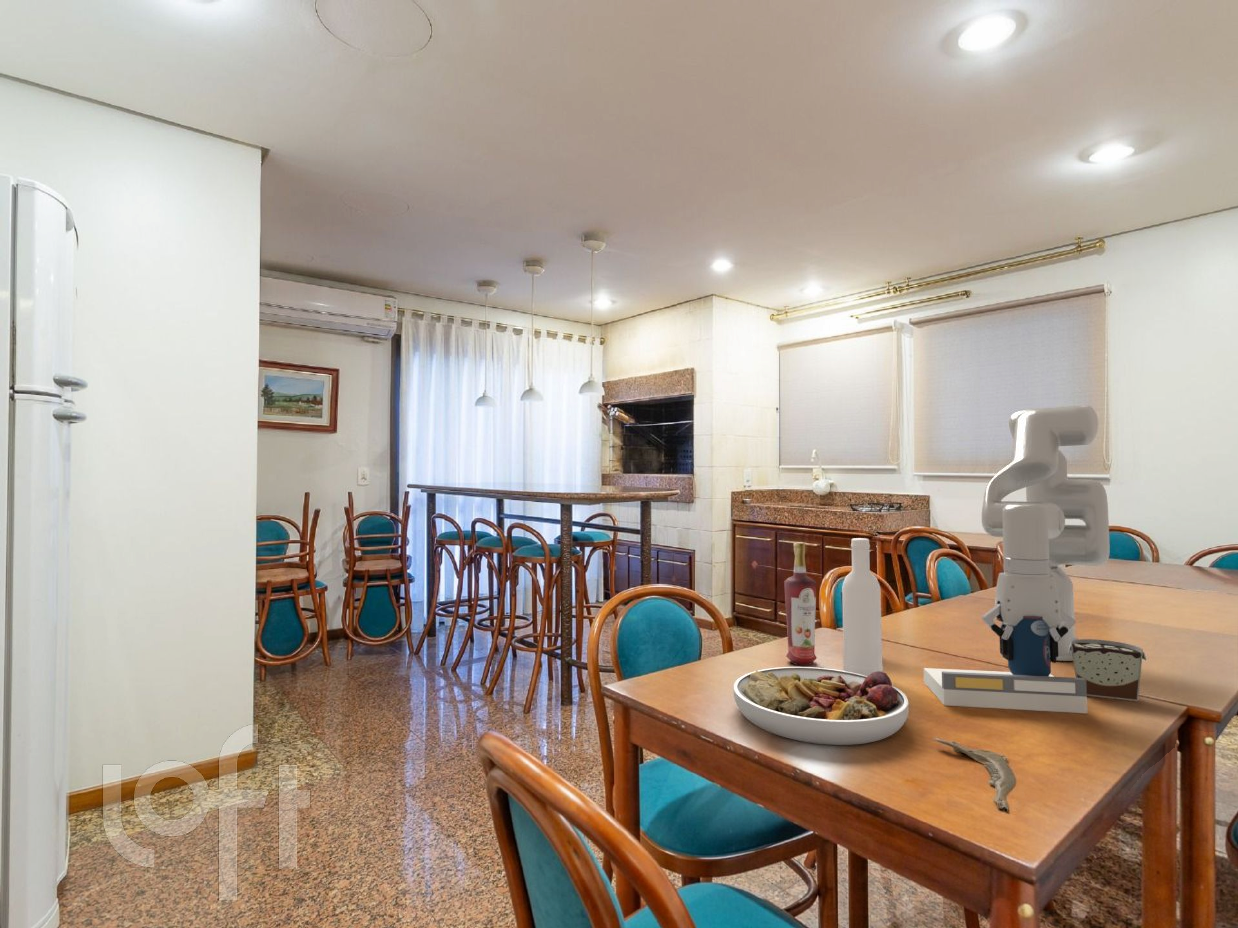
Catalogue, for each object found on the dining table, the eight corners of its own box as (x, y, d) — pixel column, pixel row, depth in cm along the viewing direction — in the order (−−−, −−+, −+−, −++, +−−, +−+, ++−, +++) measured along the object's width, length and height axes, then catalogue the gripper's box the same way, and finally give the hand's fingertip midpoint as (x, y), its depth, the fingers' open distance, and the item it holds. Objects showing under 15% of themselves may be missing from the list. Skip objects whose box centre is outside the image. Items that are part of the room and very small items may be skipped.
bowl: (772, 760, 97) (771, 708, 97) (713, 695, 127) (712, 656, 127) (948, 746, 102) (947, 696, 102) (851, 687, 131) (851, 649, 132)
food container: (1137, 692, 126) (1135, 641, 126) (1147, 702, 120) (1146, 649, 120) (1062, 684, 131) (1061, 636, 131) (1069, 693, 125) (1068, 642, 126)
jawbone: (990, 753, 100) (991, 740, 100) (1074, 825, 80) (1075, 809, 80) (932, 747, 101) (933, 734, 101) (1001, 817, 81) (1002, 801, 81)
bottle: (853, 670, 142) (851, 536, 143) (888, 677, 136) (886, 538, 137) (836, 678, 136) (834, 539, 137) (873, 686, 131) (870, 541, 132)
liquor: (795, 667, 144) (793, 545, 145) (779, 659, 151) (777, 542, 152) (823, 665, 146) (821, 544, 147) (807, 657, 153) (805, 541, 154)
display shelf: (1050, 688, 128) (1049, 658, 128) (1088, 714, 114) (1087, 680, 114) (923, 682, 133) (923, 653, 133) (945, 706, 119) (944, 673, 119)
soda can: (1057, 682, 118) (1055, 618, 118) (1016, 680, 119) (1014, 616, 120) (1041, 672, 125) (1040, 611, 125) (1002, 670, 126) (1001, 609, 127)
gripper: (1066, 565, 125) (1069, 656, 124) (970, 564, 128) (973, 652, 127) (1086, 570, 117) (1089, 667, 117) (984, 569, 121) (987, 663, 120)
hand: (1028, 659), depth 122 cm, fingers closed on soda can, 6 cm apart
